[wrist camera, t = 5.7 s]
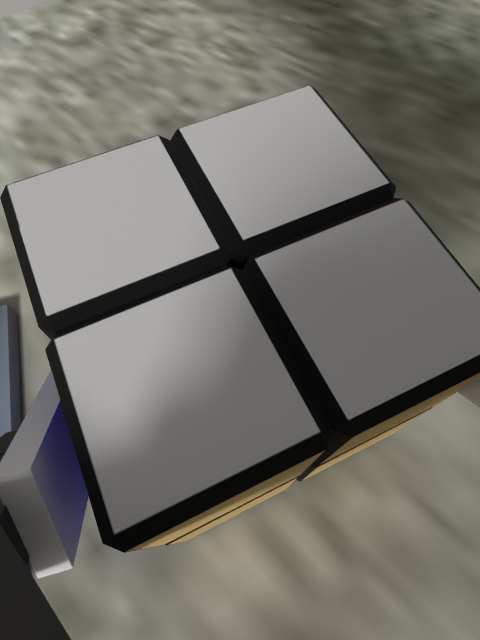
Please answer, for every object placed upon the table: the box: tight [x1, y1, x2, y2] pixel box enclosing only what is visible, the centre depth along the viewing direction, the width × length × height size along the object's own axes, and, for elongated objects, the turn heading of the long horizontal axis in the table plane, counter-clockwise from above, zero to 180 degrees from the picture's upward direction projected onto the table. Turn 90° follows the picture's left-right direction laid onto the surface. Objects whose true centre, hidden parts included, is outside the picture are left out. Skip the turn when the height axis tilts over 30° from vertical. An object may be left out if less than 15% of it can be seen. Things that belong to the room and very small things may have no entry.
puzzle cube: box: [0, 85, 480, 552], centre depth 15 cm, size 10×10×10 cm
